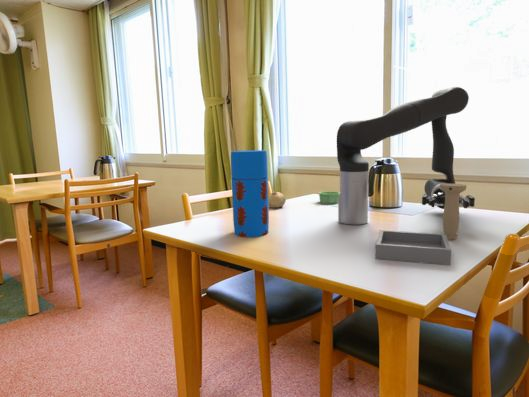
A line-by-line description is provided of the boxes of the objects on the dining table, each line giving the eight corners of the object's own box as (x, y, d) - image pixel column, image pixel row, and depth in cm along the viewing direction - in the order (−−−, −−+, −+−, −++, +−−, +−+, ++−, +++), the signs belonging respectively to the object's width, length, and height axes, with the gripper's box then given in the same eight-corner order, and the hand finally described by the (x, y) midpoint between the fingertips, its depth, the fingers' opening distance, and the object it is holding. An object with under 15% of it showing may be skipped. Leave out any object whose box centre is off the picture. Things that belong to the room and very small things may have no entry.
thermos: (256, 239, 109) (253, 152, 105) (226, 234, 115) (223, 152, 111) (275, 230, 118) (273, 150, 114) (247, 227, 124) (244, 150, 120)
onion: (264, 206, 159) (264, 189, 158) (282, 205, 161) (282, 188, 160) (269, 210, 152) (268, 192, 151) (288, 208, 154) (287, 191, 152)
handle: (460, 242, 100) (464, 186, 98) (435, 238, 104) (437, 185, 102) (464, 238, 104) (468, 184, 102) (440, 235, 108) (442, 183, 106)
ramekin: (342, 201, 166) (342, 191, 165) (335, 205, 158) (335, 194, 158) (323, 200, 171) (323, 190, 170) (315, 203, 163) (315, 193, 162)
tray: (375, 258, 89) (375, 244, 89) (379, 242, 102) (379, 230, 102) (450, 265, 84) (451, 249, 83) (444, 247, 97) (445, 234, 96)
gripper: (421, 183, 125) (423, 190, 110) (469, 184, 120) (478, 192, 105) (420, 205, 126) (422, 215, 112) (468, 207, 122) (476, 218, 107)
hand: (449, 204), depth 108 cm, fingers open, 8 cm apart
